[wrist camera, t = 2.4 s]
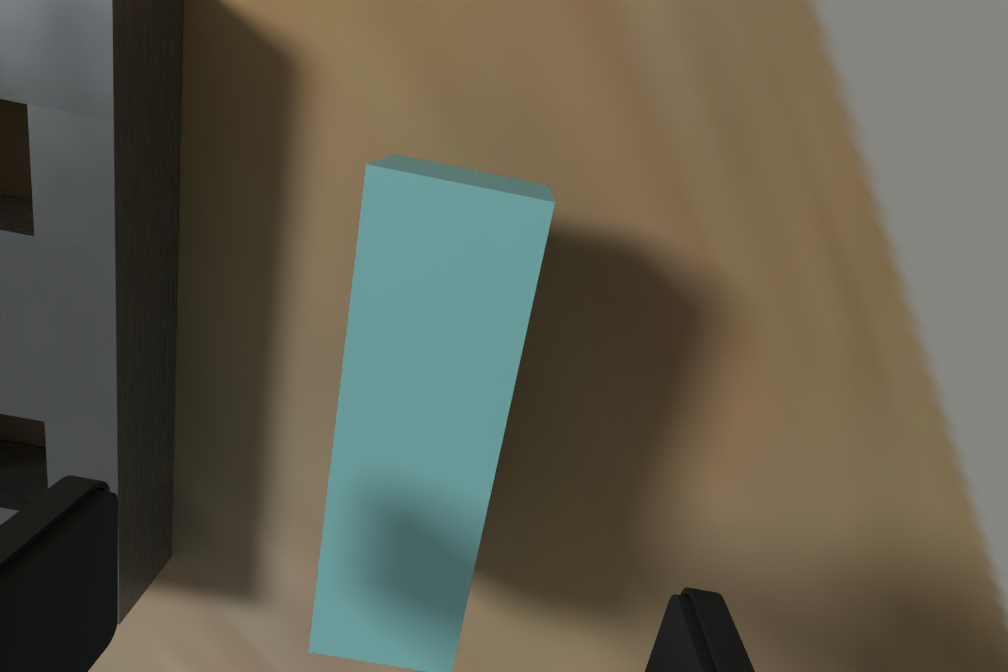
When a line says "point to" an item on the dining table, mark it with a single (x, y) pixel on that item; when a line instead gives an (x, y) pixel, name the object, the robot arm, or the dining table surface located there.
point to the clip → (423, 404)
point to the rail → (94, 262)
